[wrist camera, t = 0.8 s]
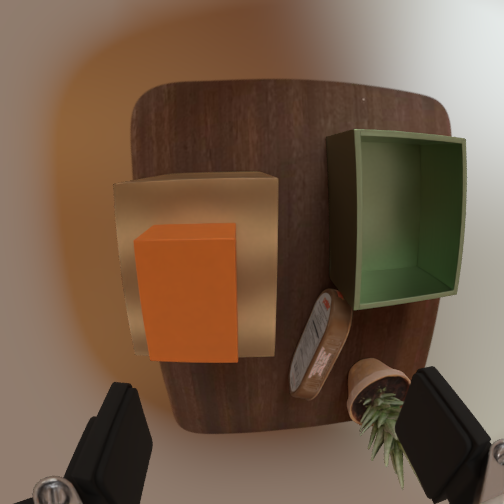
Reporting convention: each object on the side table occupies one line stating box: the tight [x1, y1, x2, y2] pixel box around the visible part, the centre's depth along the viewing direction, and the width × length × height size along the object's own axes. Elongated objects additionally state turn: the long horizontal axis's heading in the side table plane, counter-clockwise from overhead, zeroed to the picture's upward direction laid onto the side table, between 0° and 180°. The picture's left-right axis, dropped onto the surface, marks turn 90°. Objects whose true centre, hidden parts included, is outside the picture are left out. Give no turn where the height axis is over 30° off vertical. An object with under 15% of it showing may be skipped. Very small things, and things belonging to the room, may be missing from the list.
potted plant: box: [347, 358, 422, 489], centre depth 32 cm, size 10×10×25 cm
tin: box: [288, 289, 353, 401], centre depth 37 cm, size 15×3×8 cm, turn 163°
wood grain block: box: [113, 171, 278, 357], centre depth 28 cm, size 12×10×18 cm
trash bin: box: [326, 129, 467, 310], centre depth 33 cm, size 13×17×10 cm
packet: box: [133, 223, 238, 363], centre depth 18 cm, size 7×5×4 cm
